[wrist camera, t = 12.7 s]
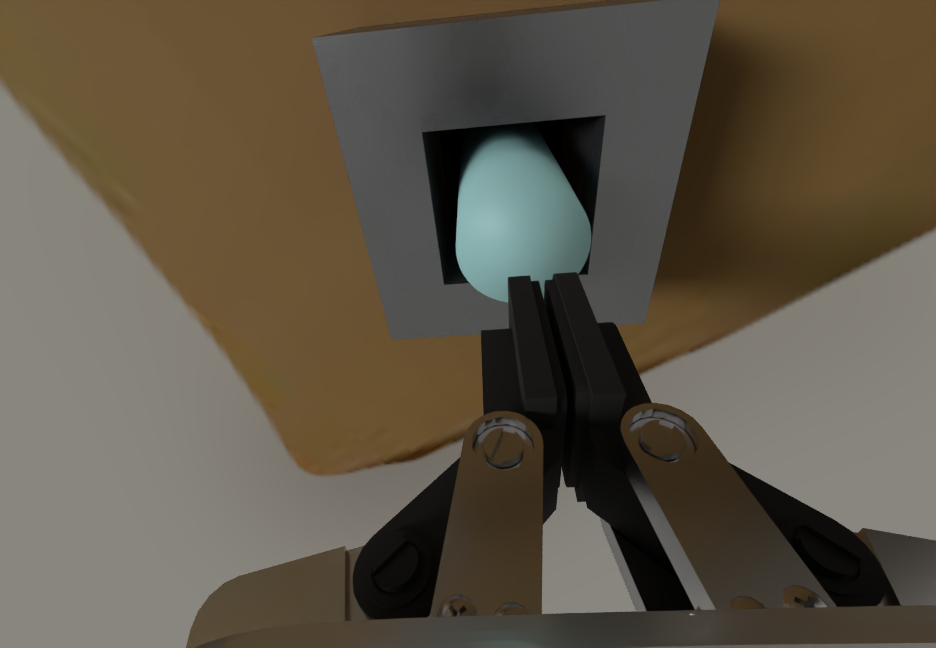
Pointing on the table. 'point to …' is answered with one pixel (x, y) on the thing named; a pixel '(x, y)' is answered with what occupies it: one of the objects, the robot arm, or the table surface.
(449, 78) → the socket
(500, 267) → the plug
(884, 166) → the table surface
